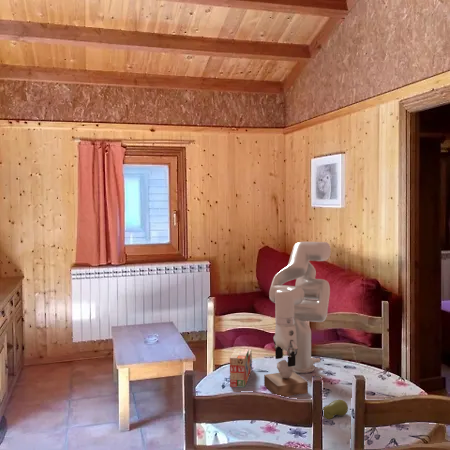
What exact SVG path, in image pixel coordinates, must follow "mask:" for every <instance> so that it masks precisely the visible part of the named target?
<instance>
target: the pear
mask: <svg viewBox="0 0 450 450" xmlns="http://www.w3.org/2000/svg"><path fill="white" fill-rule="evenodd" d="M322 409H323V410H324V416H323V417H324V418H325V419H326V420H332V419H333V418H334V416H342V417H343V416H345V415H346V414H348V412H349V406H348V404H347V402H346V401H345V400H343V399H335V400H332V401H331V402H330V403H329V404H327V405H325V406H324V407H322Z"/></svg>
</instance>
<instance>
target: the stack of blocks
mask: <svg viewBox="0 0 450 450" xmlns="http://www.w3.org/2000/svg"><path fill="white" fill-rule="evenodd" d="M252 370H253V356H252V349H249V348H234V349H233V352H232V354H231V355H230V356H229V387H234V388H235V387H236V388H246V385H247V383H248V381H249V378H248V377H250V375H251V373H252ZM249 374H250V375H249Z"/></svg>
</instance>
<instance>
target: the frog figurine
mask: <svg viewBox="0 0 450 450" xmlns="http://www.w3.org/2000/svg"><path fill="white" fill-rule="evenodd" d="M276 368H277V371H278V373H280V375H281V377H283V378H285V379H287V378H289V377H290V376H291V375H292V372H293V367H292V366H291V367H289V366H288V360H285V359H282V360H280V361H278V362H277V363H276Z"/></svg>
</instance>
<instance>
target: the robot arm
mask: <svg viewBox="0 0 450 450" xmlns="http://www.w3.org/2000/svg"><path fill="white" fill-rule="evenodd" d="M331 250H332V248H331V245H330V244H329V243H328V241H299V242H296V243H294V245H293V247H292V251H291V252H290V256H289V260H288V263H287V266H285V267H284V268H282V269H281V270H280V271H279V272H277V273H276V274H275V275H274V276H273V278H272V281H271V285H270V288H269V292H268V295H269V296H268V297H269V300H270V301H271V302H272V303H274V304H275V306H274V307H275V310H274V312H275V323H274V324H275V327H274V335H273V344H274V351H275V360H279V359H283V357H284V351H286V352H287V355H288V356H287V362H288V366H289V367H291V366H292V367H293V371H294V372H295V373H296V374H307V373H311V372H313V371H315V369H316V367H315V364H318V363H321V358H320V357H317V358H315V357H312V330H311V327H310V325H309V324H308V322H313V323H315V322H316V323H322V322H325V321H326V319H327V316H328V310H329V304H330V301H329V300H330V297H331V295H330V294H331V287H330V283H329V281H328V280H326V279H323V278H316V276H317V275H316V274H317V272H316V268H315V266H314V265H313V264H312V263H311V261H312V262H325V261H327V260H328V259H330V258H331V253H332V251H331ZM293 280H295V285H285V283H288V282H290V281H293Z"/></svg>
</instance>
